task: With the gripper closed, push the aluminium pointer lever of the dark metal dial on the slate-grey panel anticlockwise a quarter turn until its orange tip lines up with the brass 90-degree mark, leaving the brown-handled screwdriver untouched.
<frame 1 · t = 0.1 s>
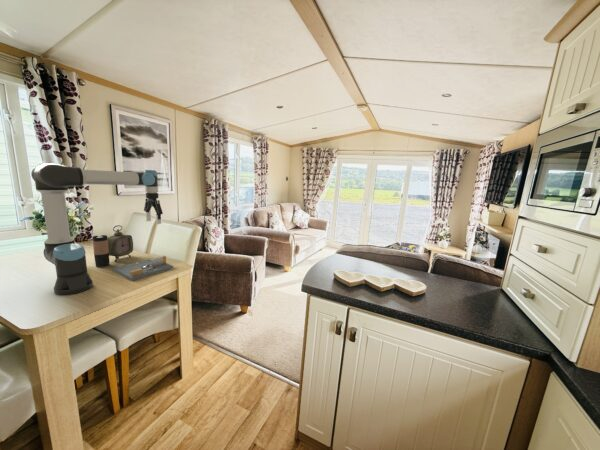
hand: (153, 222, 169), 28 cm above the table, fingers open, 13 cm apart
tabletop clock: (120, 259, 171), on the table
screwdriver: (141, 272, 146), point 2 cm above the table, touching panel
travel mug: (102, 265, 159), on the table
panel: (143, 269, 156), on the table
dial: (154, 262, 157), point 5 cm above the table, hinge at 0.0°
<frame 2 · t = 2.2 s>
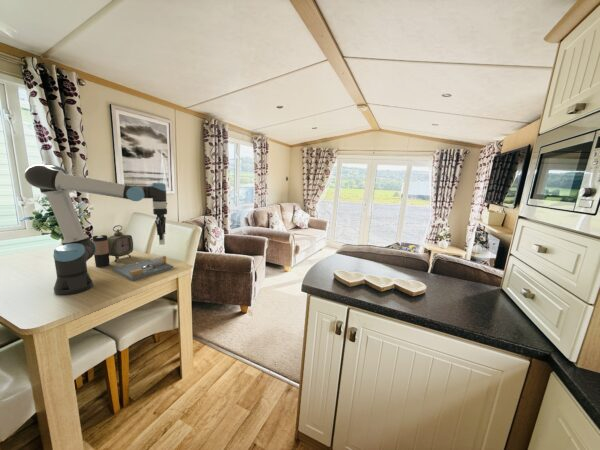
hand: (162, 244, 153), 18 cm above the table, fingers closed
nothing on the table moved.
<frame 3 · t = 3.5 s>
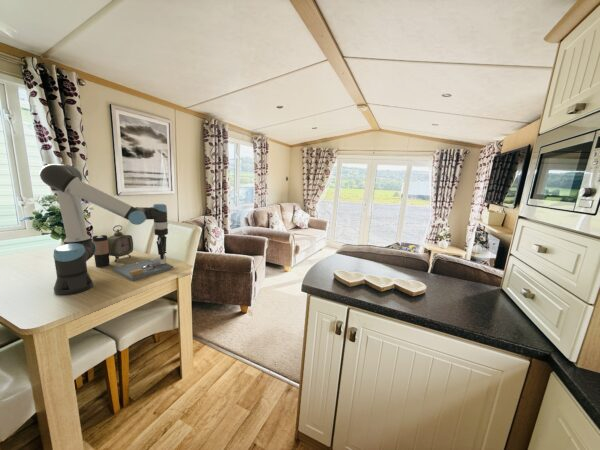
hand: (163, 263, 156), 5 cm above the table, fingers closed
nothing on the table moved.
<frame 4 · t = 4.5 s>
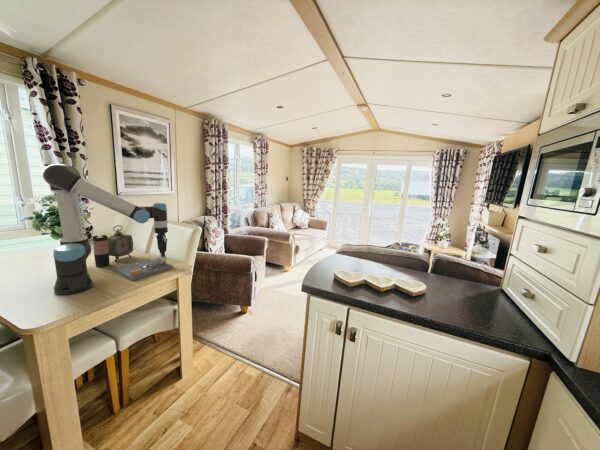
hand: (162, 260, 160), 5 cm above the table, fingers closed
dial: (154, 262, 157), point 5 cm above the table, hinge at 0.0°, touching gripper
everything else where it was.
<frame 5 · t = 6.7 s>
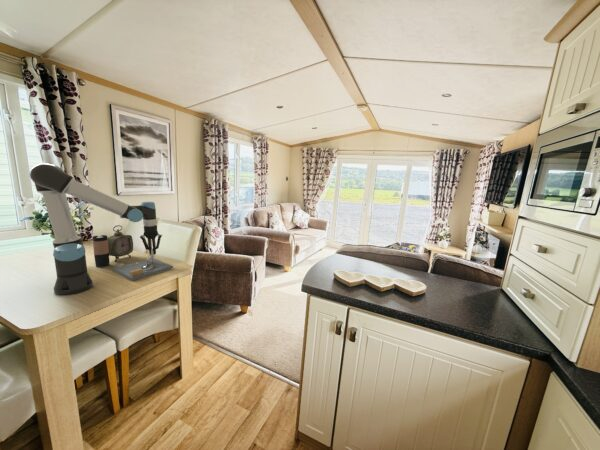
hand: (153, 258, 162), 5 cm above the table, fingers closed
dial: (149, 261, 157), point 5 cm above the table, hinge at 51.9°, touching gripper
everything else where it was.
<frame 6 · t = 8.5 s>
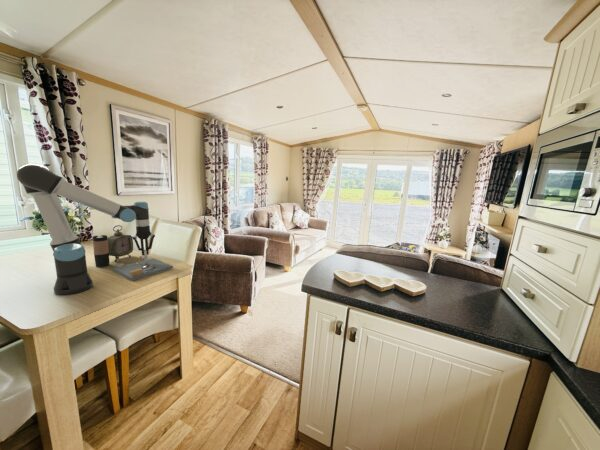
hand: (145, 259, 160), 5 cm above the table, fingers closed
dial: (145, 262, 156), point 5 cm above the table, hinge at 80.9°, touching gripper
everything else where it was.
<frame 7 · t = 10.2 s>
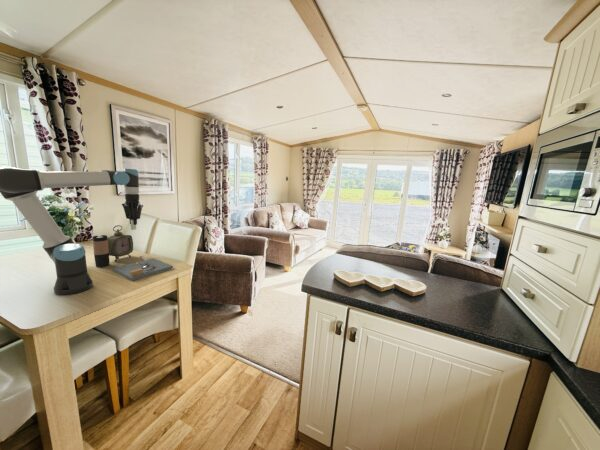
hand: (133, 229, 156), 26 cm above the table, fingers closed
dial: (145, 262, 156), point 5 cm above the table, hinge at 80.9°
everything else where it was.
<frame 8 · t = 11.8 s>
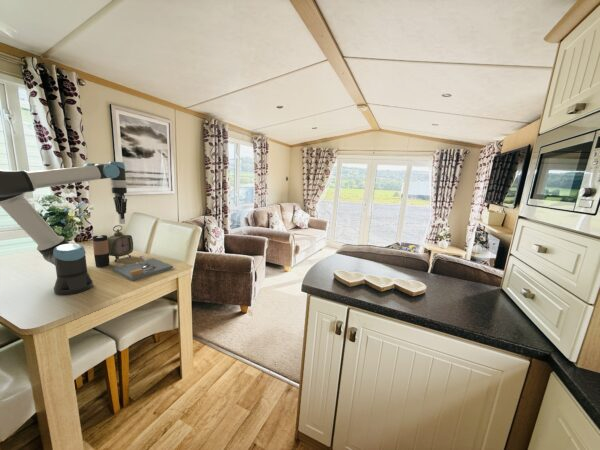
hand: (122, 223, 153), 29 cm above the table, fingers closed
nothing on the table moved.
at the end: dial at +81° (first picture: +0°) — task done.
